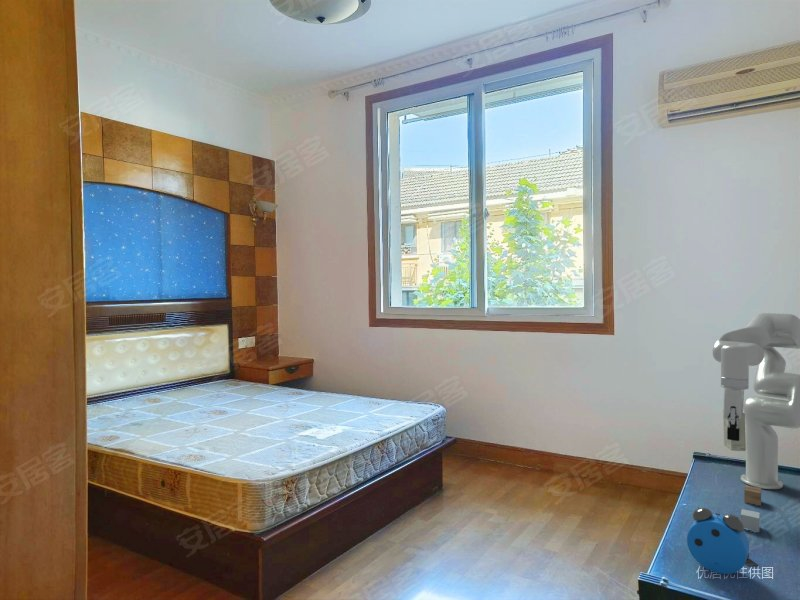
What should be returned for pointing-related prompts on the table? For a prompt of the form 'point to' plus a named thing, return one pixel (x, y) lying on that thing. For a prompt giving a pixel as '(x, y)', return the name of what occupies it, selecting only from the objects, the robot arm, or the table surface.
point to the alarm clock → (718, 541)
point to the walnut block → (752, 495)
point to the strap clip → (750, 562)
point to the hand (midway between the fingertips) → (734, 436)
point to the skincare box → (741, 443)
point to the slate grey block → (750, 519)
